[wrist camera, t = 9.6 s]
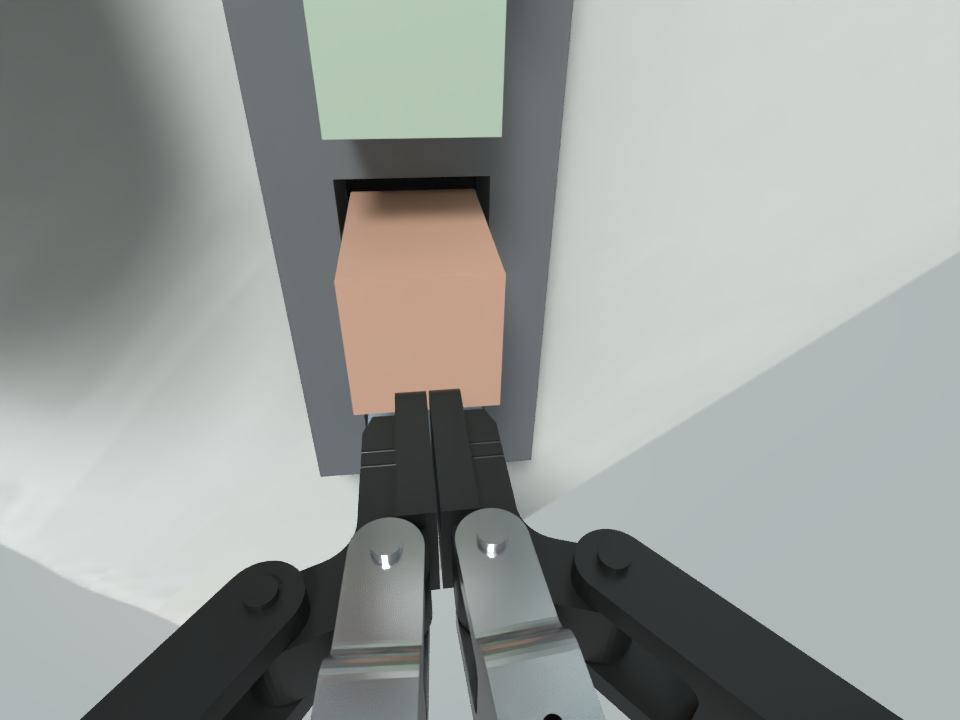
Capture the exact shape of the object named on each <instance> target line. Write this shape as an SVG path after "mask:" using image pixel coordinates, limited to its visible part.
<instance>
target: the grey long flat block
mask: <svg viewBox="0 0 960 720" xmlns="http://www.w3.org/2000/svg"><path fill="white" fill-rule="evenodd" d="M222 2H223V7H224V12H225V17H226V21H227V26H228V31H229V36H230V41H231V46H232V50H233V55H234V60H235V65H236V70H237V75H238V79H239V84H240V89H241V94H242V99H243V104H244V108H245V113H246V118H247V123H248V128H249V133H250V137H251V142H252V147H253V152H254V157H255V162H256V166H257V171H258V176H259V181H260V186H261V190H262V195H263V200H264V205H265V210H266V215H267V219H268V224H269V229H270V234H271V239H272V244H273V248H274V253H275V258H276V263H277V268H278V273H279V277H280V282H281V287H282V292H283V297H284V302H285V306H286V311H287V316H288V321H289V326H290V331H291V335H292V340H293V345H294V350H295V355H296V360H297V364H298V369H299V374H300V379H301V384H302V389H303V393H304V398H305V403H306V408H307V413H308V418H309V422H310V427H311V432H312V437H313V442H314V447H315V451H316V456H317V461H318V466H319V471H320V475H321V477H323V476H336V475H348V474H360V469H361V454H362V453H361V448H362V433H363V431H364V430H365V428H366V427H367V425H368V414H363V415H354V413H353V407H352V400H351V393H350V386H349V379H348V373H347V366H346V359H345V352H344V345H343V339H342V332H341V325H340V318H339V311H338V304H337V298H336V291H335V284H334V280H335V275H336V269H337V264H338V258H339V253H340V247H341V242H342V237H343V231H344V226H345V220H346V215H347V209H348V199H347V190H346V182H345V179H377V178H420V177H463V176H476V195H477V197H478V200H479V203H480V206H481V208H482V211H483V214H484V216H485V219H486V222H487V224H488V227H489V230H490V233H491V235H492V238H493V241H494V243H495V246H496V249H497V252H498V254H499V257H500V260H501V262H502V265H503V268H504V270H505V273H506V284H505V306H504V328H503V350H502V372H501V394H500V405H492V406H482V407H483V409H485V411H486V412H487V413H488V414H489V415H490V416H491V417H492V418H493V420H494V421H495V422H496V423H497V428H498V432H499V436H500V442H501V445H502V449H503V453H504V457H505V461H506V462H508V461H521V460H531V453H532V442H533V432H534V421H535V410H536V399H537V388H538V377H539V367H540V356H541V345H542V334H543V323H544V312H545V301H546V291H547V280H548V269H549V258H550V247H551V236H552V226H553V215H554V204H555V193H556V182H557V171H558V160H559V150H560V139H561V128H562V117H563V106H564V95H565V85H566V74H567V63H568V52H569V41H570V30H571V19H572V9H573V0H507V2H506V30H505V59H504V87H503V115H502V137H465V138H401V139H337V140H322V135H321V128H320V120H319V113H318V106H317V99H316V91H315V84H314V77H313V70H312V63H311V55H310V48H309V41H308V34H307V26H306V19H305V12H304V5H303V0H222Z"/></svg>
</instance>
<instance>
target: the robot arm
mask: <svg viewBox="0 0 960 720" xmlns="http://www.w3.org/2000/svg"><path fill="white" fill-rule="evenodd" d="M429 412H430V429H429V418H428V406H427V395H426V391H416V392H401V393H395V415H392V416H378V417H372V419H371V420H370V422H369V423H368V425H367V427H366V428H365V430H364V431H363V433H362V448H361V453H362V454H361V469H360V484H359V502H358V520H357V528H356V531H355V534H354V536H353V537H352V538H351V541H350V542H349V544H348V545H347V546H346V547H345V548H344V549H343V550H342V551H341V552H340V553H338V554H337V555H336V556H334V557H332V558H331V559H329V560H327V561H325V562H322V563H320V564H317V565H315V566H312V567H310V568H307V569H305V570H302V571H298V569H296V568H295V567H294V566H292V565H290V564H288V563H285V562H282V561H266V562H261V563H258V564H255V565H252V566H250V567H248V568H246V569H244V570H243V571H241V572H240V573H238V574H237V575H236V576H235V577H233V578H232V579H231V580H230V581H229V582H228V583H227V584H226V585H225V586H224V587H223V588H222V589H220V590H219V591H218V592H217V593H216V594H215V595H214V596H213V597H212V598H211V599H210V600H209V601H208V602H206V603H205V604H204V605H203V606H202V607H201V608H200V609H199V610H198V611H197V612H196V613H195V614H194V615H192V616H191V617H190V618H189V619H188V620H187V621H186V622H185V623H184V624H183V625H182V626H181V627H180V628H178V629H177V630H176V631H175V632H174V633H173V634H172V635H171V636H170V637H169V638H168V639H167V640H165V641H164V642H163V643H162V644H161V645H160V646H159V647H158V648H157V649H156V650H155V651H154V652H153V653H151V654H150V655H149V656H148V657H147V658H146V659H145V660H144V661H143V662H142V663H141V664H140V665H138V667H136V668H135V669H134V670H133V671H132V672H131V673H130V674H129V675H128V676H127V677H126V678H124V679H123V680H122V681H121V682H120V683H119V684H118V685H117V686H116V687H115V688H114V689H113V690H112V691H111V692H109V693H108V694H107V695H106V696H105V697H104V698H103V699H102V700H101V701H100V702H99V703H98V704H96V705H95V706H94V707H93V708H92V709H91V710H90V711H89V712H88V713H87V714H86V715H85V716H84V717H82V718H81V719H80V720H302V718H303V717H304V716H305V715H306V713H307V712H308V711H309V710H310V708H311V707H312V706H313V708H312V714H311V720H428V711H429V710H428V709H429V708H428V707H429V649H430V624H431V620H432V600H431V590H436V589H440V578H439V552H438V535H439V546H440V557H441V569H442V580H443V588H452V587H454V595H455V604H456V627H457V633H458V638H459V643H460V649H461V654H462V660H463V665H464V671H465V676H466V682H467V687H468V692H469V698H470V703H471V709H472V714H473V720H606V719H605V717H604V714H603V711H602V708H601V706H600V703H599V700H598V697H597V695H596V692H595V689H594V687H595V688H596V689H597V690H598V691H599V692H600V693H601V694H602V695H604V696H605V697H606V698H607V699H608V700H609V701H610V702H612V703H613V704H614V705H615V706H616V707H617V708H618V709H619V710H620V711H622V712H623V713H624V714H625V715H626V716H627V717H628V718H630V719H631V720H903V719H902V718H900V717H898V716H897V715H896V714H894V713H893V712H891V711H890V710H888V709H887V708H885V707H884V706H882V705H881V704H879V703H878V702H876V701H875V700H873V699H872V698H870V697H869V696H867V695H866V694H865V693H863V692H861V691H860V690H859V689H857V688H855V687H854V686H853V685H851V684H850V683H848V682H847V681H845V680H844V679H842V678H841V677H839V676H838V675H836V674H835V673H833V672H832V671H830V670H829V669H827V668H826V667H825V666H823V665H821V664H820V663H819V662H817V661H816V660H814V659H813V658H811V657H809V656H808V655H807V654H805V653H804V652H802V651H801V650H799V649H798V648H796V647H795V646H793V645H792V644H790V643H789V642H788V641H786V640H784V639H783V638H782V637H780V636H779V635H777V634H776V633H774V632H773V631H771V630H770V629H768V628H767V627H765V626H764V625H762V624H761V623H759V622H758V621H756V620H755V619H753V618H752V617H750V616H749V615H747V614H746V613H745V612H743V611H741V610H740V609H739V608H737V607H736V606H734V605H733V604H731V603H730V602H728V601H727V600H725V599H724V598H722V597H721V596H719V595H718V594H716V593H715V592H713V591H712V590H710V589H709V588H708V587H706V586H705V585H703V584H702V583H700V582H699V581H697V580H696V579H694V578H693V577H691V576H690V575H688V574H687V573H685V572H684V571H682V570H681V569H679V568H678V567H676V566H675V565H673V564H672V563H670V562H669V561H668V560H666V559H665V558H663V557H662V556H660V555H659V554H657V553H656V552H654V551H653V550H651V549H650V548H648V547H647V546H645V545H644V544H642V543H641V542H639V541H638V540H636V539H635V538H633V537H632V536H630V535H628V534H625V533H623V532H620V531H617V530H612V529H600V530H595V531H592V532H590V533H588V534H586V535H585V536H583V537H582V538H581V539H580V540H579V542H578V543H574V542H569V541H564V540H559V539H554V538H550V537H547V536H544V535H541V534H539V533H538V532H536V531H534V530H533V529H531V528H530V527H529V526H528V525H527V524H526V523H525V522H524V521H523V520H522V518H521V517H520V515H519V513H518V511H517V508H516V504H515V499H514V495H513V491H512V487H511V483H510V478H509V474H508V470H507V466H506V461H505V457H504V453H503V449H502V445H501V442H500V436H499V432H498V428H497V423H496V422H495V421H494V420H493V418H492V417H491V416H490V415H489V414H488V413H487V412H486V411H485V409H473V410H464V409H463V403H462V397H461V391H460V389H444V390H429ZM430 435H431V440H430ZM437 523H438V527H437Z"/></svg>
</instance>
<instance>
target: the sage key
mask: <svg viewBox="0 0 960 720" xmlns="http://www.w3.org/2000/svg"><path fill="white" fill-rule="evenodd" d="M506 2H507V0H303V5H304V12H305V19H306V26H307V34H308V41H309V48H310V55H311V63H312V70H313V77H314V84H315V91H316V99H317V106H318V113H319V120H320V128H321V135H322V140H337V139H401V138H465V137H502V115H503V87H504V59H505V30H506Z"/></svg>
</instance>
